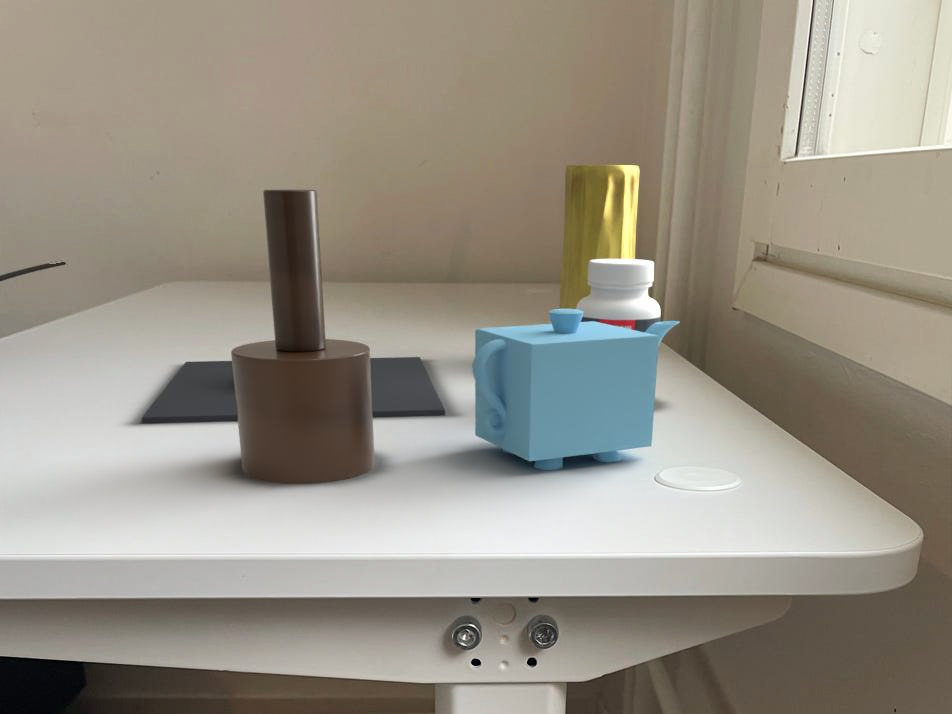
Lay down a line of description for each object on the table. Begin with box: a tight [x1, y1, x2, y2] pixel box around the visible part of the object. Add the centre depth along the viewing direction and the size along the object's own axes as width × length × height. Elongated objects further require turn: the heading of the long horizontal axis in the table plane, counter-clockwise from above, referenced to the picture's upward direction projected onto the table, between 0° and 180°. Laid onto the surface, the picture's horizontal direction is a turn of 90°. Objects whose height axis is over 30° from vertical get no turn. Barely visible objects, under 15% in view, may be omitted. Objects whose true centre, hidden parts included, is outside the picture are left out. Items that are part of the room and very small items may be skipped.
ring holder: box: [230, 188, 376, 485], centre depth 49 cm, size 7×7×13 cm
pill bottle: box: [576, 258, 661, 333], centre depth 64 cm, size 5×5×9 cm
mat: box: [141, 356, 446, 425], centre depth 70 cm, size 20×18×1 cm
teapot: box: [471, 308, 681, 471], centre depth 53 cm, size 12×6×8 cm, turn 116°
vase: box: [558, 164, 641, 309], centre depth 75 cm, size 6×6×14 cm
